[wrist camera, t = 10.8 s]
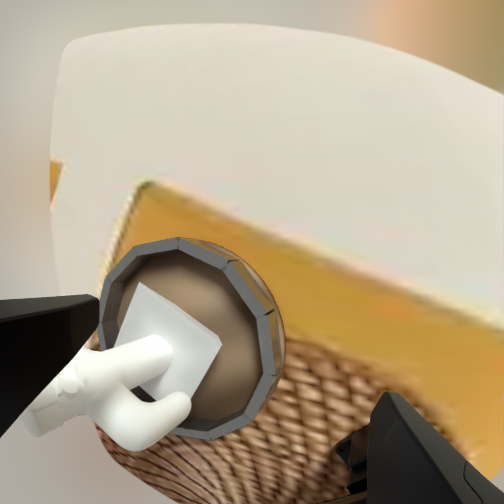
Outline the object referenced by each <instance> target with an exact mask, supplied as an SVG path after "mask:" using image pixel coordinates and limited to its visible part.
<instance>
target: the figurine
mask: <svg viewBox="0 0 504 504" xmlns="http://www.w3.org/2000/svg"><path fill="white" fill-rule="evenodd" d="M221 346H222V343H221V341H220V339H219V336H218V335H216V334H215V333H213V332H212V331H211V330H209V329H208V328H206V327H205V326H204V325H202V324H201V323H200V322H198V321H197V320H196V319H194V318H193V317H191V316H190V315H189V314H187V313H186V312H185V311H183V310H182V309H181V308H179V307H178V306H177V305H175V304H174V303H172V302H171V301H169V300H167V299H166V298H164V297H163V296H161V295H159V294H158V293H156V292H155V291H153V290H151V289H150V288H148V287H147V286H145V285H144V284H142V283H140V282H139V284H138V286H137V288H136V291H135V293H134V296H133V298H132V301H131V303H130V306H129V308H128V311H127V313H126V316H125V319H124V321H123V324H122V326H121V329H120V332H119V334H118V337H117V340H116V343H115V345H114V348H111V349H108V350H105V351H102V352H98V351H92V350H90V349H88V348H87V347H86V346H85V345H83V347H82V348H81V349H80V351H79V352H78V353H77V354H76V356H75V357H74V358H73V359H72V360H71V361H70V362H69V364H68V365H67V366H66V367H65V368H64V369H63V370H62V371H61V372H60V373H59V374H58V375H57V376H56V377H55V378H54V379H53V380H52V381H51V382H50V383H49V385H48V386H47V387H46V388H45V389H44V390H43V391H42V392H41V393H40V394H39V395H38V396H37V397H36V398H35V400H34V401H33V402H32V403H31V404H30V405H29V406H28V407H27V408H26V409H25V411H24V412H23V413H22V414H21V415H20V416H19V419H20V420H21V422H22V423H23V425H24V426H25V427H26V429H27V430H28V431H29V432H30V433H31V434H33V435H34V436H36V437H40V436H43V435H45V434H47V433H48V432H50V431H52V430H54V429H56V428H58V427H60V426H62V425H63V424H64V422H65V421H68V420H70V419H72V418H74V417H76V416H80V415H89V416H90V417H91V418H92V419H93V420H94V421H95V422H96V423H97V424H98V425H99V426H100V427H101V428H102V429H103V430H104V431H105V432H106V433H107V434H108V435H109V436H110V437H111V438H112V439H113V440H114V441H115V442H116V443H117V444H118V445H120V446H121V447H123V448H124V449H126V450H129V451H133V452H136V451H141V450H144V449H146V448H148V447H150V446H152V445H153V444H155V443H156V442H158V441H159V440H160V439H162V438H163V437H164V436H165V435H167V434H168V433H169V432H170V431H172V430H173V429H174V428H175V427H176V426H178V425H179V424H180V423H181V422H182V421H184V420H185V419H186V417H187V416H188V415H189V413H190V411H191V405H192V404H191V400H190V399H191V398H192V396H193V394H194V393H195V391H196V389H197V387H198V386H199V384H200V382H201V381H202V379H203V377H204V375H205V374H206V372H207V370H208V369H209V367H210V365H211V363H212V362H213V360H214V358H215V356H216V355H217V353H218V351H219V349H220V348H221ZM137 386H140V387H141V388H142V389H143V390H145V391H146V392H147V393H148V394H149V395H150V396H152V397H153V398H154V399H155V400H156V402H152V403H147V402H143V401H141V400H139V399H138V398H137V397H136V396H135V395H134V394H133V393H132V392H131V391H129V390H131V389H133V388H135V387H137Z"/></svg>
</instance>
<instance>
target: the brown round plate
mask: <svg viewBox="0 0 504 504" xmlns="http://www.w3.org/2000/svg"><path fill="white" fill-rule="evenodd" d="M198 241H200V242H202V243H204V244H207V245H209V246H211V247H213V248H215V249H218V250H220V251H222V252H224V253H227V254H229V255H231V256H233V257H236V258H238V259H240V260H239V261H242V262H243V263H244V265H245V266H246V268H247V269H248V270H249V272H250V273H251V275H252V276H253V277H254V279H255V280H256V282H257V283H258V284H259V286H260V287H261V288H262V290H263V291H264V293H265V294H266V295H267V297H268V298H269V299H270V301H271V302H272V304H273V305H274V306H275V308H274V309H273V310H276V312H277V320H278V328H279V336H280V345H281V353H282V362H283V365H282V369H281V371H280V373H279V375H278V377H277V379H276V381H275V383H274V385H273V387H272V389H271V391H270V393H269V395H268V397H267V399H266V401H265V403H266V402H267V401H268V399H269V398H270V396H271V395H272V393H273V392H274V390H275V388H276V387H277V384H278V382H279V380H280V377H281V375H282V371H283V367H284V362H285V352H286V343H285V332H284V326H283V321H282V318H281V315H280V312H279V309H278V306H277V304H276V302H275V300H274V297H273V295H272V293H271V292H270V290H269V289H268V287H267V285H266V284H265V282H264V281H263V280H262V278H261V277H260V276H259V275H258V274H257V272H256V271H255V270H254V269H253V268H252V267H251V266H250V265H249V264H247V263H246V262H245V261H244V260H243V259H241V258H240V257H239V256H237V255H236V254H234V253H233V252H231V251H229V250H227V249H225V248H224V247H222V246H219V245H216V244H213V243H211V242H206V241H201V240H198ZM139 282H140V283H142V284H144V285H145V286H147V287H148V288H150V289H151V290H153V291H155V292H156V293H158V294H159V295H161V296H163V297H164V298H166V299H167V300H169V301H171V302H172V303H174V304H175V305H177V306H178V307H179V308H181V309H182V310H183V311H185V312H186V313H187V314H189V315H190V316H191V317H193V318H194V319H196V320H197V321H198V322H200V323H201V324H202V325H204V326H205V327H206V328H208V329H209V330H211V331H212V332H213V333H215V334H216V335H218V336H219V339H220V341H221V343H222V346H221V348H220V349H219V351H218V353H217V355H216V356H215V358H214V360H213V362H212V363H211V365H210V367H209V369H208V370H207V372H206V374H205V375H204V377H203V379H202V381H201V382H200V384H199V386H198V387H197V389H196V391H195V393H194V394H193V396H192V398H191V399H190V400H191V404H192V405H191V411H190V413H189V415H188V416H187V417H190V418H198V419H207V420H217V421H218V420H220V419H222V418H224V417H226V416H228V415H230V414H232V413H234V412H236V411H238V410H240V409H242V408H244V407H246V406H248V404H249V402H250V400H251V398H252V396H253V394H254V392H255V390H256V388H257V386H258V384H259V382H260V379H261V377H262V375H263V366H262V359H261V351H260V343H259V336H258V328H257V320H256V317H255V316H254V314H253V313H252V311H251V310H250V309H249V307H248V306H247V304H246V303H245V302H244V300H243V299H242V297H241V296H240V295H239V293H238V292H237V290H236V289H235V288H234V286H233V285H232V283H231V282H230V280H229V279H228V278H227V276H226V275H225V273H224V272H223V270H221V269H218V268H216V267H214V266H212V265H210V264H208V263H206V262H204V261H202V260H199V259H197V258H195V257H193V256H191V255H189V254H187V253H185V252H183V251H179V252H173V253H167V254H161V255H155V256H152V257H151V258H150V259H149V260H148V261H147V262H146V263H145V264H144V265H143V266H142V267H141V268H140V269H139V270H138V271H137V272H136V273H135V274H134V275H133V276H132V277H131V278H130V279H129V280H128V281H127V282H126V286H125V290H124V294H123V297H122V301H121V305H120V309H119V313H118V317H117V323H118V329H119V332H120V329H121V326H122V324H123V321H124V319H125V316H126V313H127V311H128V308H129V306H130V303H131V301H132V298H133V296H134V293H135V291H136V288H137V286H138V284H139ZM144 391H145V390H144ZM145 392H146V391H145ZM146 394H148V393H147V392H146ZM148 395H149V394H148ZM149 396H150V395H149ZM150 397H152V396H150ZM152 398H153V397H152ZM153 399H154V398H153ZM265 403H264V404H265Z"/></svg>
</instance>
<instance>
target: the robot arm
mask: <svg viewBox="0 0 504 504" xmlns="http://www.w3.org/2000/svg"><path fill="white" fill-rule="evenodd" d="M99 321H100V302H99V299H98V298H96V297H94V296H92V295H89V294H83V295H70V296H56V297H41V298H25V299H9V300H0V438H1V436H2V435H3V434H4V433H5V432H6V431H7V430H8V428H9V427H10V426H11V425H12V424H13V423H14V422H15V421H16V419H17V418H18V417H19V416H20V415H21V414H22V413H23V412H24V411H25V409H26V408H27V407H28V406H29V405H30V404H31V403H32V402H33V401H34V400H35V398H36V397H37V396H38V395H39V394H40V393H41V392H42V391H43V390H44V389H45V388H46V387H47V386H48V385H49V383H50V382H51V381H52V380H53V379H54V378H55V377H56V376H57V375H58V374H59V373H60V372H61V371H62V370H63V369H64V368H65V367H66V366H67V365H68V364H69V362H70V361H71V360H72V359H73V358H74V357H75V356H76V354H77V353H78V352H79V351H80V349H81V348H82V347H83V345H84V344H85V343H86V342H87V340H88V339H89V338H90V336H91V335H92V334H93V333H94V331H95V330H96V329H97V327H98V325H99ZM340 447H344V449H340ZM335 450H336V452H337V453H338V455H339V456H340V457H341V458H342V459H343V461H344V462H345V463H346V464H347V465H348V467H349V468H350V469H349V477H348V484H347V489H348V490H349V495H347V496H344V497H340V498H337V499H333V500H330V501H326V500H325V501H321V502H318V503H317V504H504V493H503V492H502V491H501V490H500V489H498V488H497V487H496V486H494V485H493V484H492V483H491V482H490V481H489V480H488V479H486V478H485V477H484V476H483V475H482V474H481V473H480V472H479V471H478V470H477V469H476V468H474V467H473V466H472V465H471V464H470V463H469V462H468V461H467V460H466V459H465V458H464V457H463V456H462V455H461V454H460V453H459V452H458V451H457V450H456V449H455V448H454V447H453V446H452V445H451V444H450V443H449V442H448V441H447V440H446V439H445V438H444V437H443V436H442V435H441V434H440V433H439V432H438V431H437V430H435V429H434V428H433V427H432V426H431V425H430V424H429V423H428V422H427V421H426V420H425V419H424V418H423V417H422V416H421V415H420V414H419V413H418V412H417V411H416V410H415V409H414V408H413V407H412V406H411V405H410V404H409V403H408V402H407V401H406V400H405V399H404V398H403V397H402V396H401V395H400V394H398V393H396V392H390V391H386V392H384V393H383V395H382V396H381V398H380V399H379V401H378V403H377V404H376V406H375V408H374V409H373V411H372V413H371V417H370V425H368V426H366V427H364V428H363V429H361V430H359V431H357V432H355V433H353V435H352V436H351V437H349V438H347V439H345V440H343V441H341V442H339V443H338V444H337V445H336V449H335Z"/></svg>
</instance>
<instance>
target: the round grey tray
mask: <svg viewBox="0 0 504 504" xmlns="http://www.w3.org/2000/svg"><path fill="white" fill-rule="evenodd" d="M179 251H183V252H185V253H187V254H189V255H191V256H193V257H195V258H197V259H199V260H202V261H204V262H206V263H208V264H210V265H212V266H214V267H216V268H218V269H221V270H223V272H224V273H225V275H226V276H227V278H228V279H229V280H230V282H231V283H232V285H233V286H234V288H235V289H236V290H237V292H238V293H239V295H240V296H241V297H242V299H243V300H244V302H245V303H246V304H247V306H248V307H249V309H250V310H251V311H252V313H253V314H254V316H255V317H256V320H257V328H258V336H259V343H260V351H261V359H262V366H263V375H262V377H261V379H260V382H259V384H258V386H257V388H256V390H255V392H254V394H253V396H252V398H251V400H250V402H249V404H248V406H246V407H244V408H242V409H240V410H238V411H236V412H234V413H232V414H230V415H228V416H226V417H224V418H222V419H220V420H218V421H217V420H207V419H198V418H190V417H186V419H185V420H184V421H182V422H181V423H180V424H179V425H178V426H176V427H175V428H174V429H173V430H172V431H170V432H169V434H174V435H180V436H186V437H192V438H198V439H205V440H211V439H212V440H213V439H216V438H218V437H220V436H223V435H225V434H227V433H229V432H232V431H234V430H236V429H238V428H240V427H242V426H245V425H247V424H249V423H251V422H252V421H253V420H254V419H255V417H256V416H257V414H258V413H259V412H260V410H261V409H262V407H263V405H264V403H265V401H266V399H267V397H268V395H269V393H270V391H271V389H272V387H273V385H274V383H275V381H276V379H277V377H278V375H279V373H280V371H281V369H282V365H283V362H282V353H281V345H280V336H279V328H278V320H277V312H276V310H273V309H274V308H275V306H274V305H273V304H272V302H271V301H270V299H269V298H268V297H267V295H266V294H265V293H264V291H263V290H262V288H261V287H260V286H259V284H258V283H257V282H256V280H255V279H254V277H253V276H252V275H251V273H250V272H249V270H248V269H247V268H246V266H245V265H244V263H243V262H242V261H239V260H240V259H238V258H236V257H233V256H231V255H229V254H227V253H224V252H222V251H220V250H218V249H215V248H213V247H211V246H209V245H207V244H204V243H202V242H200V241H198V240H195V239H191V238H181V237H176V238H171V239H166V240H161V241H156V242H151V243H146V244H141V245H136V246H135V247H133V248H132V249H131V250H130V251H129V252H128V253H127V254H126V255H125V256H124V257H123V258H122V259H121V261H120V262H119V263H118V264H117V265H116V266H115V267H114V268H113V269H112V271H111V272H110V273H109V274H108V275H107V276H106V278H105V281H104V285H103V289H102V293H101V298H100V321H99V325H98V327H97V332H98V337H99V343H100V348H101V352H102V351H105V350H108V349H111V348H114V345H115V343H116V340H117V337H118V334H119V329H118V323H117V317H118V313H119V309H120V305H121V301H122V297H123V294H124V290H125V286H126V282H127V281H128V280H129V279H130V278H131V277H132V276H133V275H134V274H135V273H136V272H137V271H138V270H139V269H140V268H141V267H142V266H143V265H144V264H145V263H146V262H147V261H148V260H149V259H150V258H151V257H152V256H155V255H161V254H167V253H173V252H179ZM129 391H131V392H132V393H133V394H134V395H135V396H136V397H137V398H138V399H139V400H141V401H143V402H147V403H152V402H156V400H155V399H153V398H152V397H150V396H149V395H148V394H146V392H145V391H144V390H143V389H142V388H141V387H140V386H137V387H135V388H133V389H131V390H129Z"/></svg>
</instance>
